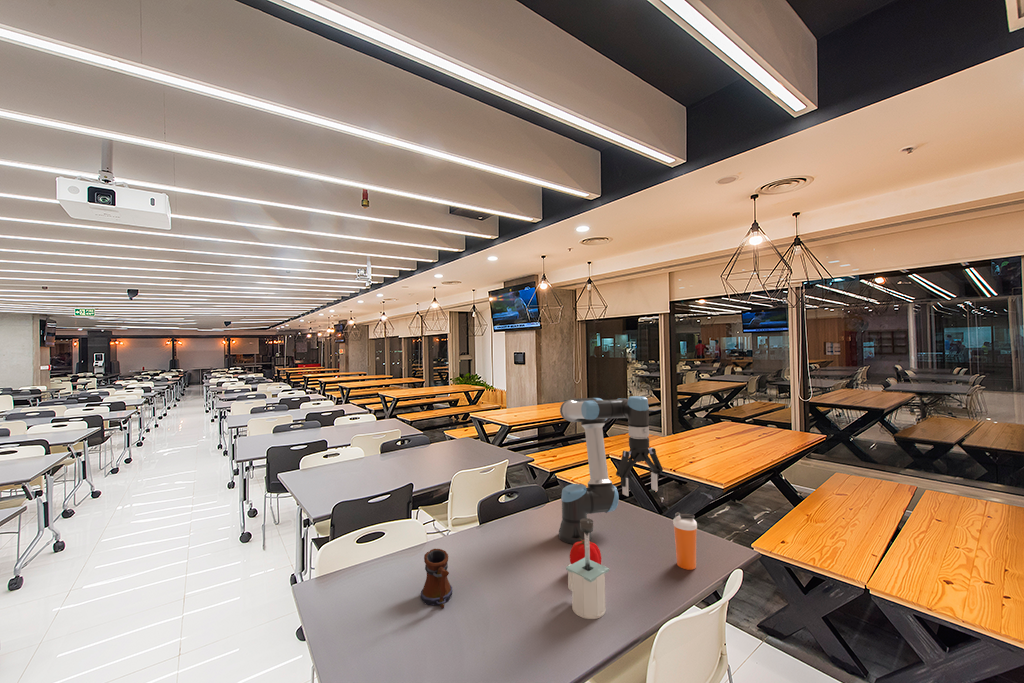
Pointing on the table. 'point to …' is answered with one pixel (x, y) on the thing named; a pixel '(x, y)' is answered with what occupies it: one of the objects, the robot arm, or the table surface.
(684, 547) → the shaker bottle
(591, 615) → the press pot
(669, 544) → the table surface
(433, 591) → the mug
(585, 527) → the plunger
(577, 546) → the tomato
